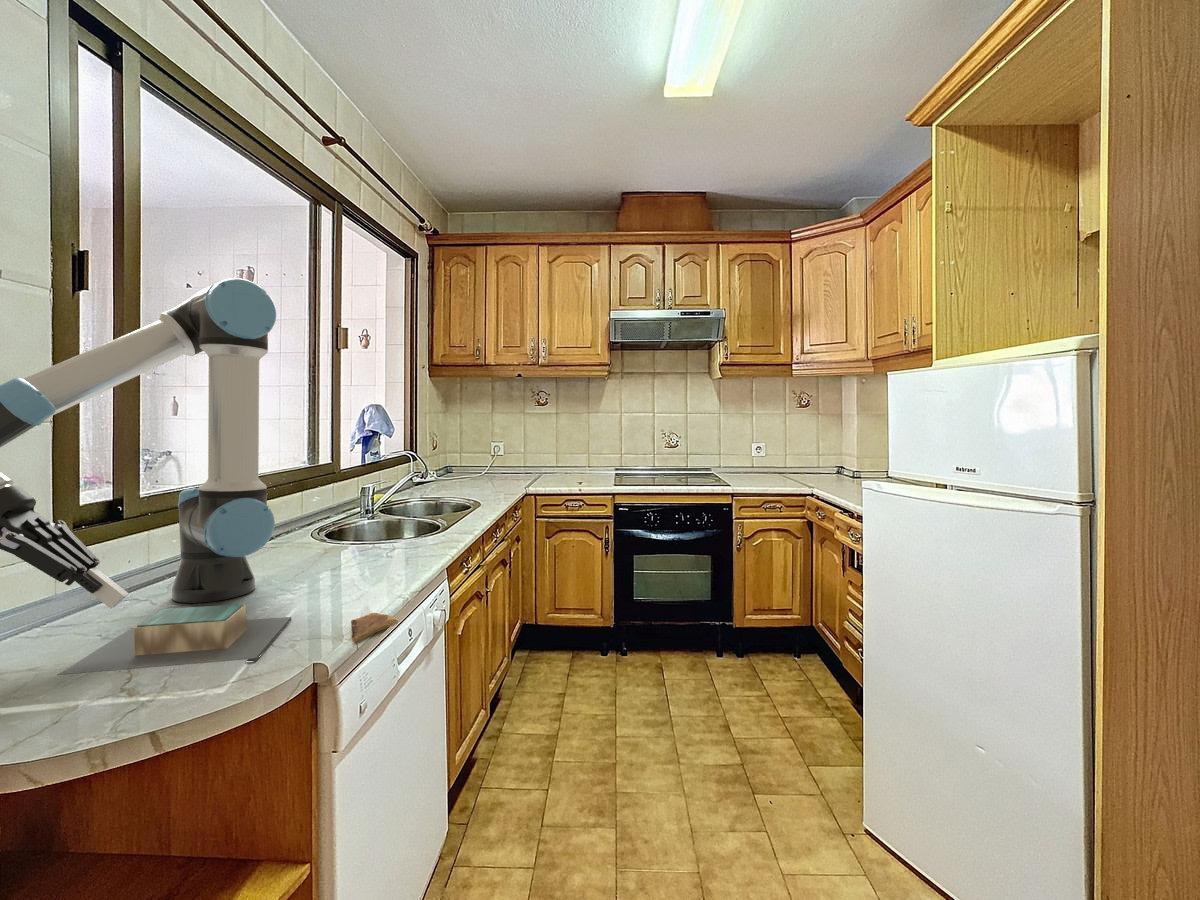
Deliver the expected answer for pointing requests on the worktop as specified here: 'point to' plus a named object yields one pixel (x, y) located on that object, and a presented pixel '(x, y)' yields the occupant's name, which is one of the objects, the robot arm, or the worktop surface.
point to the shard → (370, 625)
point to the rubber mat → (123, 652)
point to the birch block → (190, 629)
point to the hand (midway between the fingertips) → (119, 601)
